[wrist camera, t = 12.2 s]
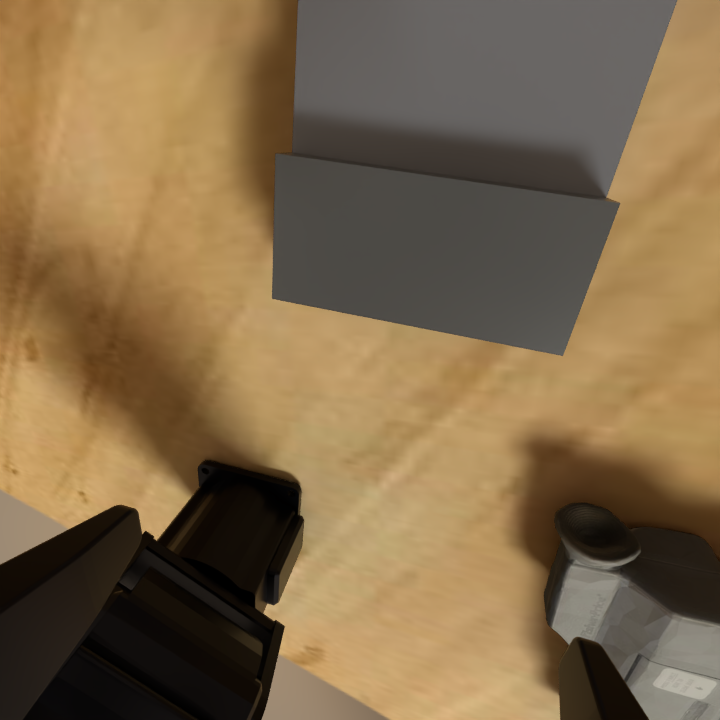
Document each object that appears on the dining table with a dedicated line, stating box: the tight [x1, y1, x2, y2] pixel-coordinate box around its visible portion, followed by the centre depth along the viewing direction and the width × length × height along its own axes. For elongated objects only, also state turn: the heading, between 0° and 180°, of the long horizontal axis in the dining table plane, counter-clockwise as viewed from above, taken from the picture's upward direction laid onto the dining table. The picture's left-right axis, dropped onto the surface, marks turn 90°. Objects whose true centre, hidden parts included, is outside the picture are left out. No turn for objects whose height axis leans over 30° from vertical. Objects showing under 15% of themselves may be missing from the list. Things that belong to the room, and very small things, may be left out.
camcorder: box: [544, 503, 720, 720], centre depth 22 cm, size 16×20×5 cm
